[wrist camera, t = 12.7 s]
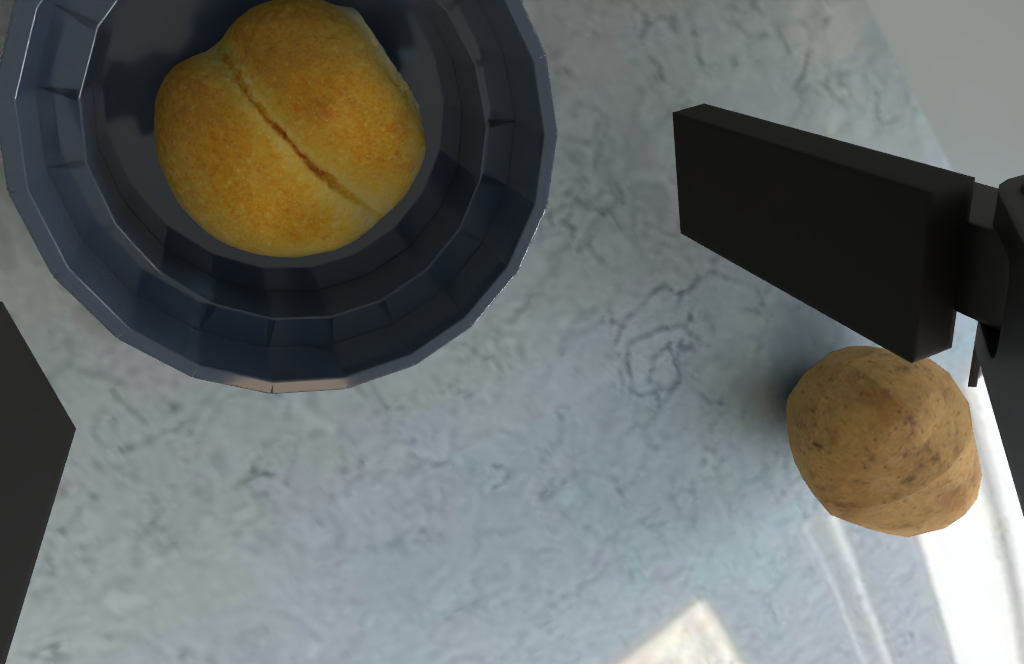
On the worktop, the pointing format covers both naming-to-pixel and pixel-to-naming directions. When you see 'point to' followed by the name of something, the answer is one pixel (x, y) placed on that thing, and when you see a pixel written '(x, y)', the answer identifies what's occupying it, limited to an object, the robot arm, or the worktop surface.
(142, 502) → the worktop surface
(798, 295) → the robot arm
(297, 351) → the blue grey bowl
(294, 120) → the bread roll
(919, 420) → the potato
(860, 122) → the worktop surface
